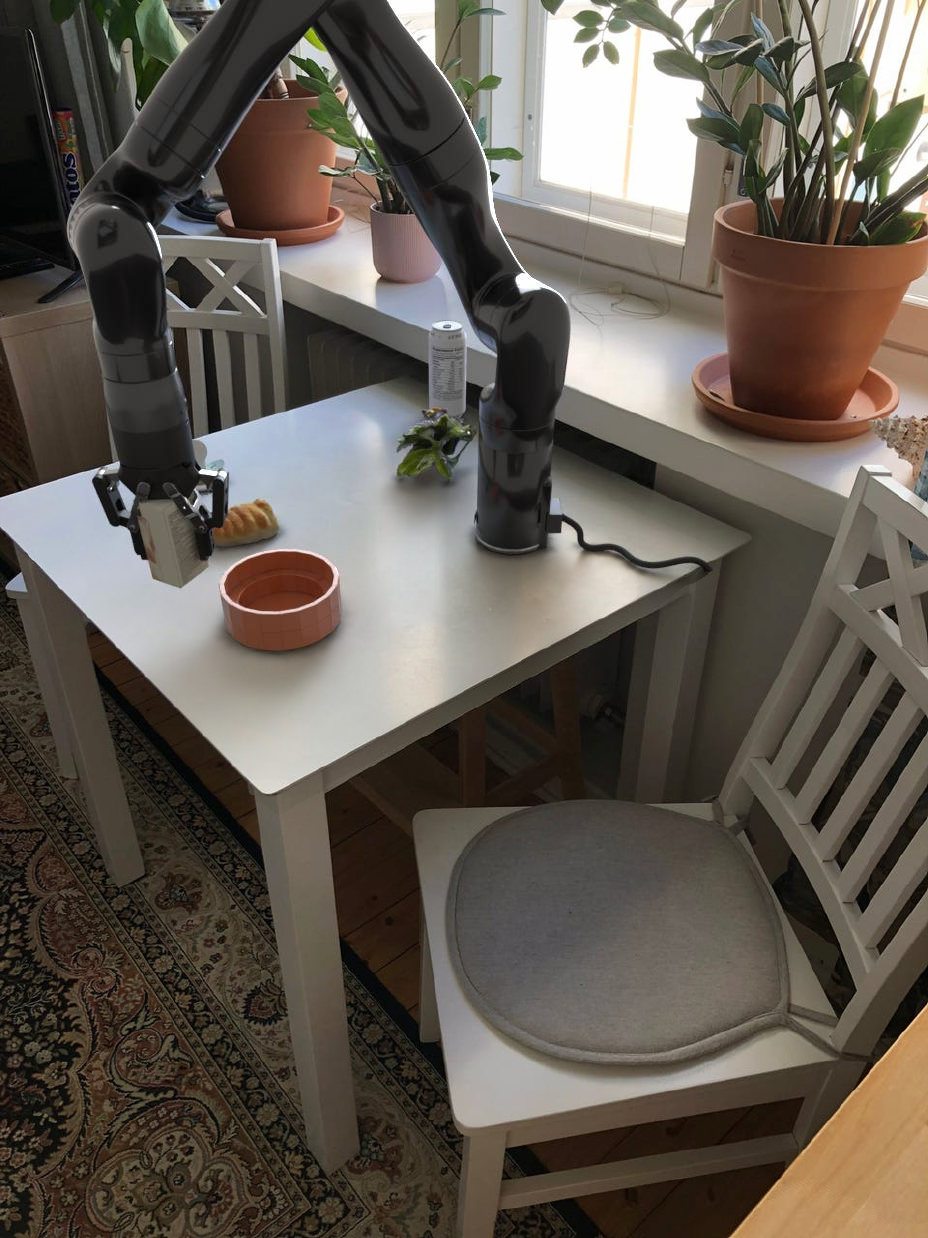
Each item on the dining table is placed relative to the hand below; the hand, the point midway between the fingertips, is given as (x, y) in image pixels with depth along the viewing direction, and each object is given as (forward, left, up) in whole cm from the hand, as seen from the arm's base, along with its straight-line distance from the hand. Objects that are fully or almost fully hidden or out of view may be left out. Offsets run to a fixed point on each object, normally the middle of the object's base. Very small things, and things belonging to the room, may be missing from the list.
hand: (177, 556), depth 102 cm
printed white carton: (0, 0, -2) cm, 2 cm away
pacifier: (+6, -33, -9) cm, 35 cm away
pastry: (-3, -19, -9) cm, 21 cm away
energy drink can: (-29, -58, -9) cm, 65 cm away
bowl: (-11, 0, -8) cm, 14 cm away
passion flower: (-28, -37, -9) cm, 47 cm away
